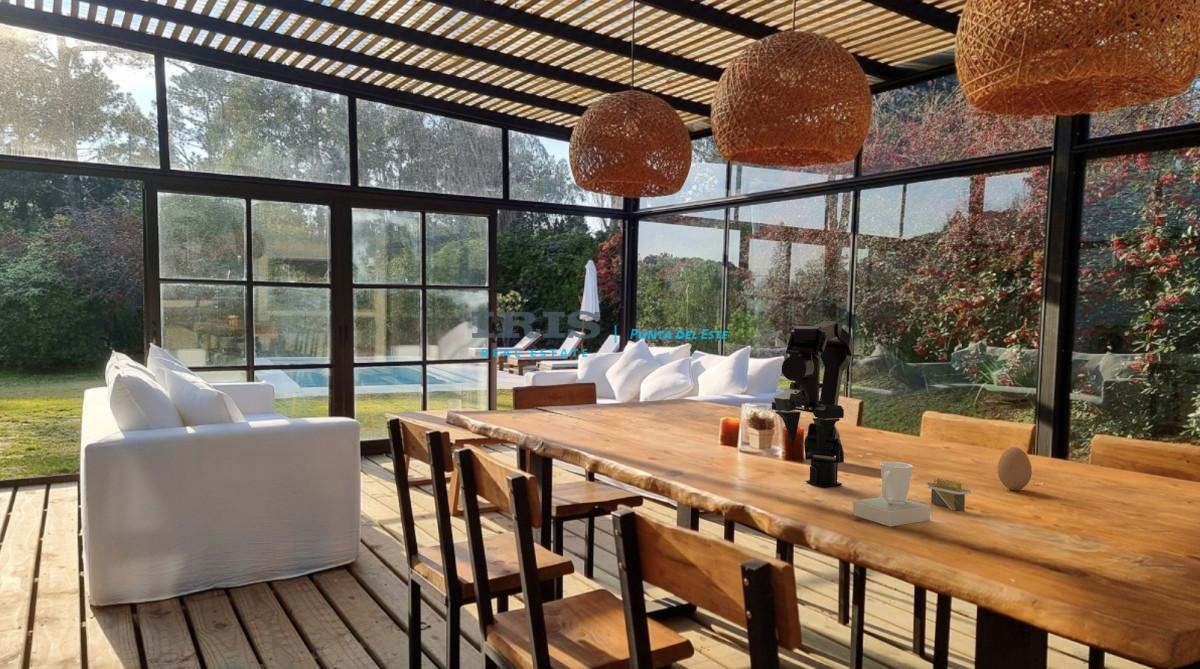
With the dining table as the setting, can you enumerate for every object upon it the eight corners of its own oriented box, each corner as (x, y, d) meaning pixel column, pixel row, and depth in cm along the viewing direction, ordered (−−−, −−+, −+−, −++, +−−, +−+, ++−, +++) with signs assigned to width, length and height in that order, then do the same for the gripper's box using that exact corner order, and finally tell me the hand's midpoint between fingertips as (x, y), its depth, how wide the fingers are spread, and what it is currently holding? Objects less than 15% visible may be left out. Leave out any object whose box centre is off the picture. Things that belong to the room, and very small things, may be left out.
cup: (917, 502, 160) (918, 464, 159) (900, 510, 152) (901, 471, 152) (885, 496, 164) (886, 460, 164) (866, 503, 157) (867, 466, 157)
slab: (891, 508, 166) (892, 495, 166) (929, 520, 157) (930, 505, 157) (852, 514, 160) (852, 500, 160) (889, 526, 151) (890, 511, 151)
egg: (992, 485, 192) (993, 444, 192) (1024, 487, 190) (1026, 445, 190) (1002, 492, 184) (1003, 449, 184) (1035, 494, 183) (1037, 450, 183)
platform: (969, 522, 157) (970, 492, 157) (894, 504, 172) (894, 476, 172) (999, 515, 164) (999, 485, 164) (924, 498, 179) (924, 471, 179)
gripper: (755, 376, 180) (753, 440, 181) (809, 382, 164) (807, 453, 164) (790, 375, 185) (788, 437, 186) (846, 381, 169) (844, 449, 169)
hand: (805, 444), depth 176 cm, fingers open, 9 cm apart
